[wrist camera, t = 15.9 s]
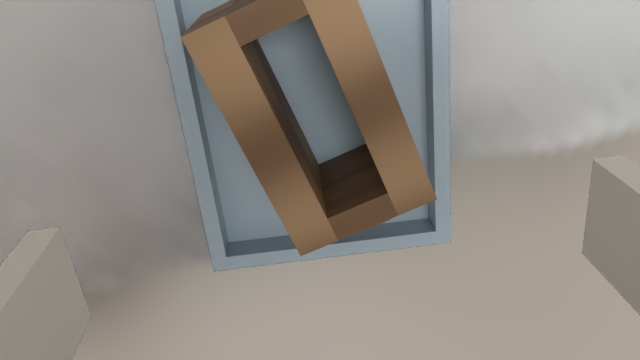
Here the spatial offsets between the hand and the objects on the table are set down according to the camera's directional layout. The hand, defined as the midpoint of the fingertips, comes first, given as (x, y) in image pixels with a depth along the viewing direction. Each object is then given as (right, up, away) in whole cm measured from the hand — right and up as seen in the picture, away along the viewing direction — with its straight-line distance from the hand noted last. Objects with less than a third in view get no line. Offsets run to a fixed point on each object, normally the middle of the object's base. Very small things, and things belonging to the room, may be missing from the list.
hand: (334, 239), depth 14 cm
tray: (-1, +6, +14) cm, 15 cm away
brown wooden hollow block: (-1, +6, +14) cm, 15 cm away
